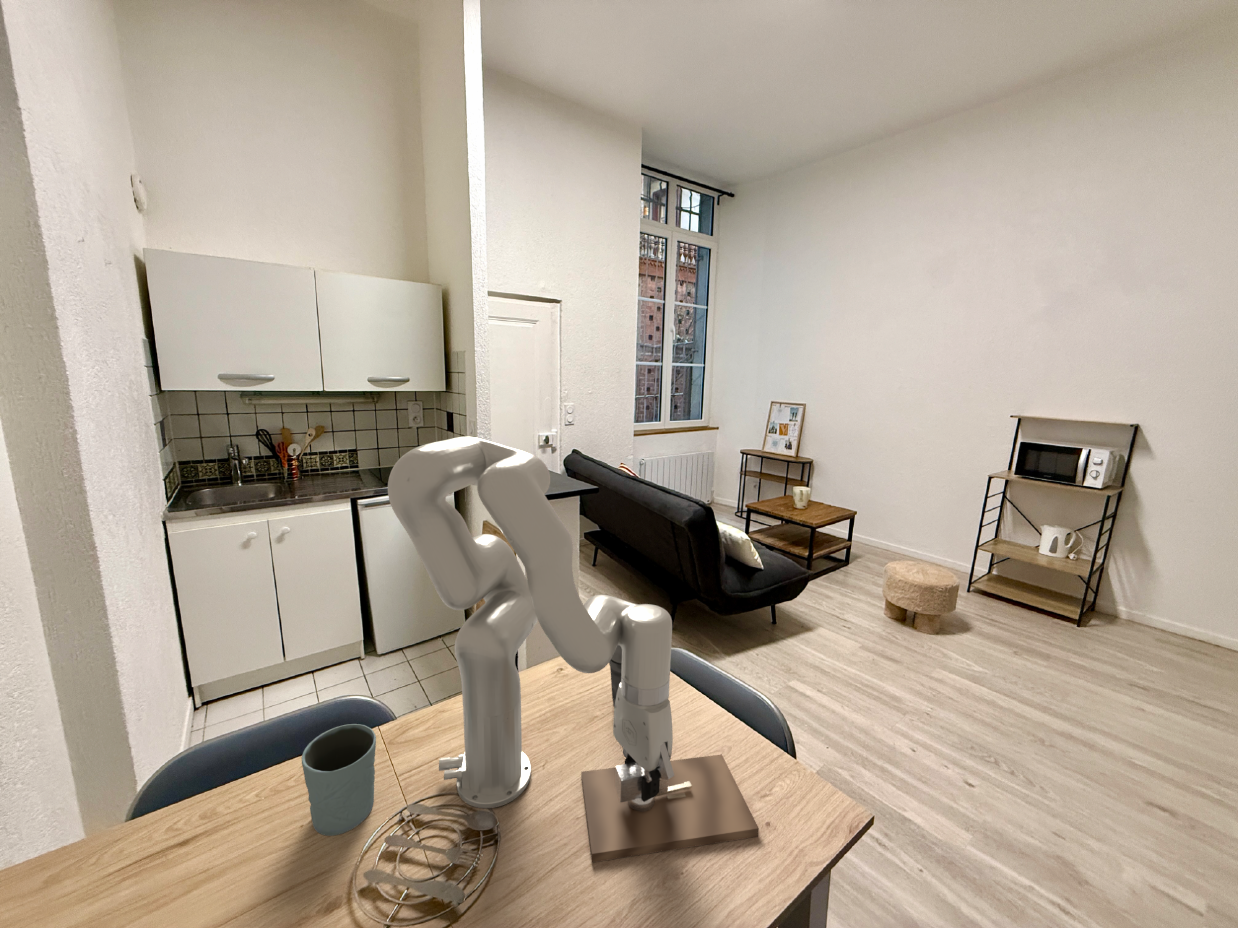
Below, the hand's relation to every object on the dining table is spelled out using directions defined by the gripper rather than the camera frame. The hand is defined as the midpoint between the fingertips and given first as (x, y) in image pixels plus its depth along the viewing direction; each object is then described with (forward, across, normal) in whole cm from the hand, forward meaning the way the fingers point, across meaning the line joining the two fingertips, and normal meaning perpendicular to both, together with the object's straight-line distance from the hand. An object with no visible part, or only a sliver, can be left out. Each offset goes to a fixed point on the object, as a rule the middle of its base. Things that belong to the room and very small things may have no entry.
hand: (641, 785), depth 79 cm
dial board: (+4, +2, +4) cm, 6 cm away
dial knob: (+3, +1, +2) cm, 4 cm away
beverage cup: (+5, -23, +13) cm, 27 cm away
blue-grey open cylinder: (+5, -26, -40) cm, 48 cm away
